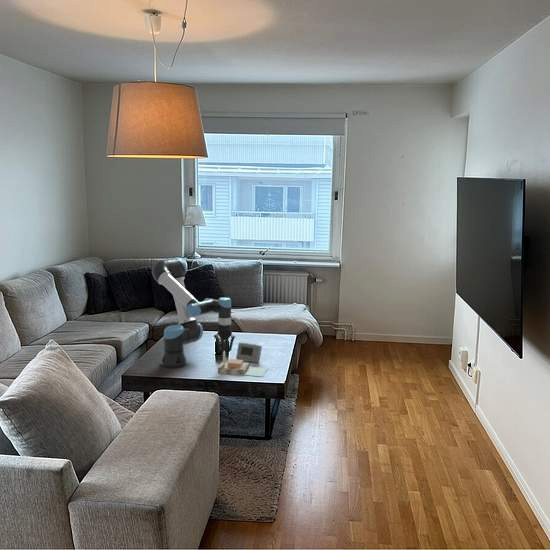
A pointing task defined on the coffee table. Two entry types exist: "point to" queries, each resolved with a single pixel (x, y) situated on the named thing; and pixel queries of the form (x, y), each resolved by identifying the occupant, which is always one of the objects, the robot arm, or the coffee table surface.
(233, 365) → the terracotta tile
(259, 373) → the sage mat
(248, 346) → the digital clock
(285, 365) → the coffee table surface
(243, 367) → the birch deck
